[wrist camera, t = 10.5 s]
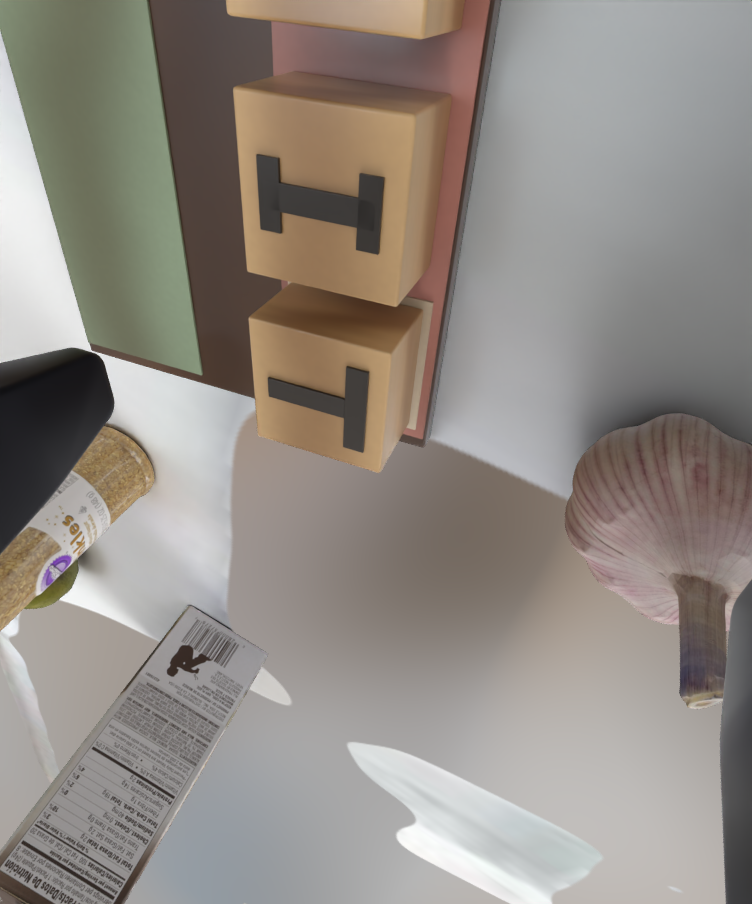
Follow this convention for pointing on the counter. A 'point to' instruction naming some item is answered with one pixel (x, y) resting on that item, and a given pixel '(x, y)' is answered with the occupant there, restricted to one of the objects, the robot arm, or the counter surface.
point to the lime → (56, 588)
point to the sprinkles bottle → (73, 518)
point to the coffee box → (131, 771)
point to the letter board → (209, 166)
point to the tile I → (340, 181)
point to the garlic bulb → (670, 533)
